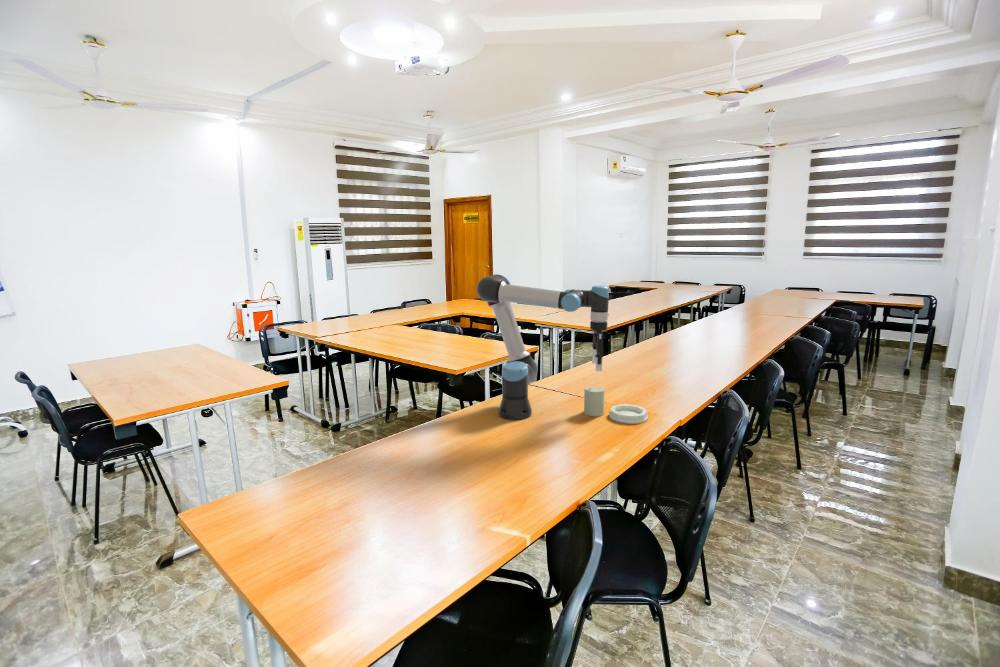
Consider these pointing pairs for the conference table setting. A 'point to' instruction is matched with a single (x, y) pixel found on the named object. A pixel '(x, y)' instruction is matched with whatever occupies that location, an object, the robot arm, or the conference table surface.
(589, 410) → the can
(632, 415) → the tray
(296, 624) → the conference table surface
